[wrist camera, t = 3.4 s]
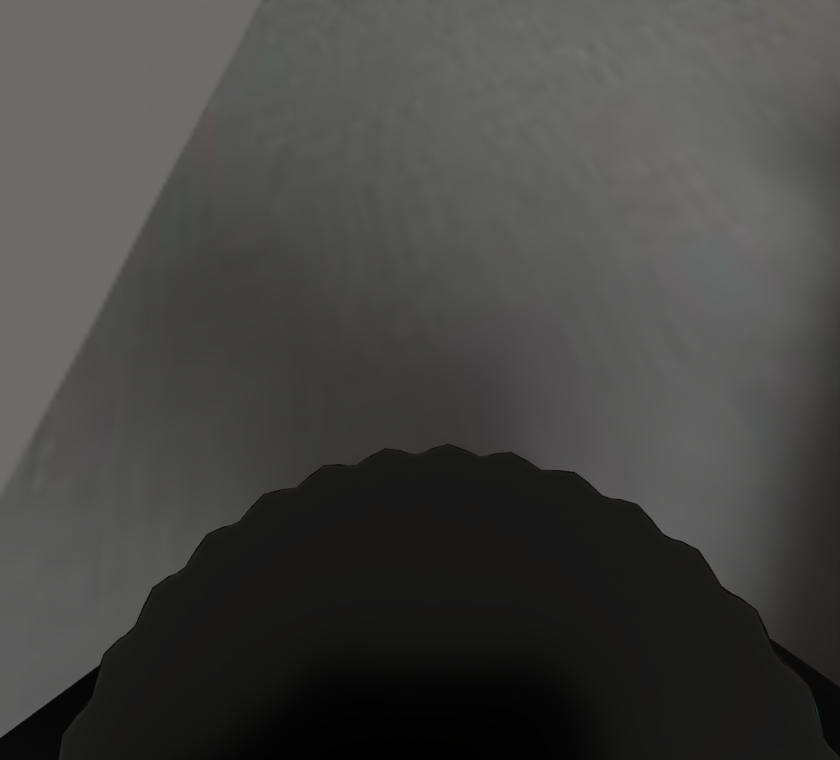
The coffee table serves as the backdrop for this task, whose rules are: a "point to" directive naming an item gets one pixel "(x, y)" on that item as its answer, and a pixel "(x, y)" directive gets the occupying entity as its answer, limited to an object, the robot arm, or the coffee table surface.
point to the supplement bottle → (445, 632)
